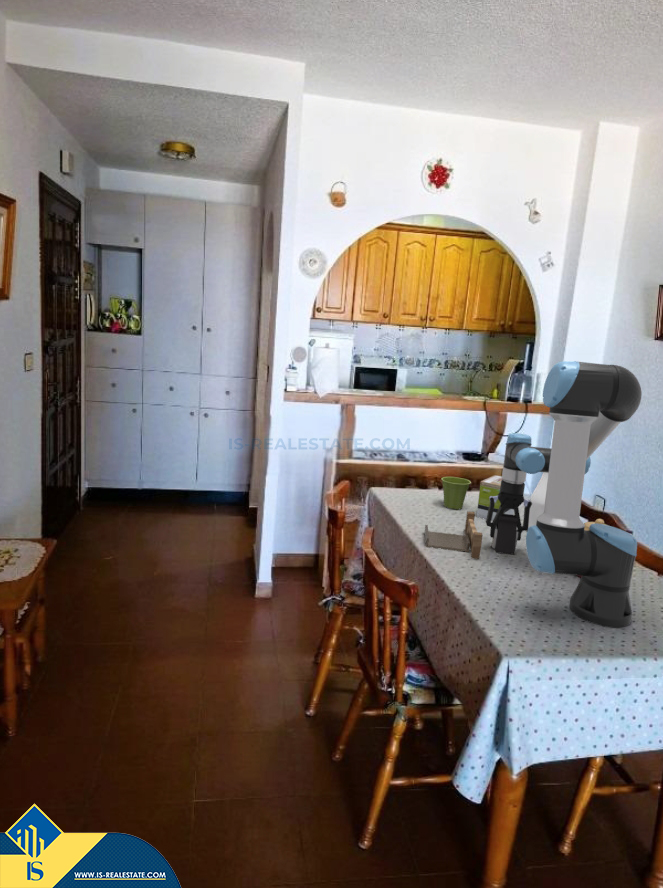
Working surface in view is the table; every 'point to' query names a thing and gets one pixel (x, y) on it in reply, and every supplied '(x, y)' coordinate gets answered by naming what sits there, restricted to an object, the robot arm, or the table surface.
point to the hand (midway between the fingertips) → (503, 547)
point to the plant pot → (454, 491)
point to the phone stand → (506, 534)
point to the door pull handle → (473, 536)
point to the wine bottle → (538, 500)
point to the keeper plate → (447, 540)
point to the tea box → (490, 489)
